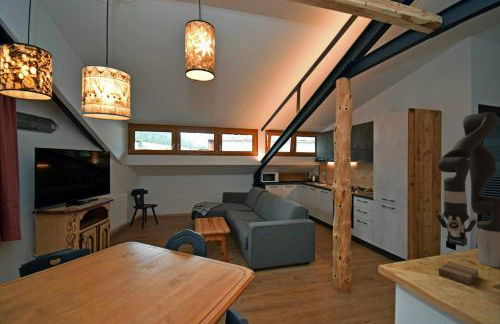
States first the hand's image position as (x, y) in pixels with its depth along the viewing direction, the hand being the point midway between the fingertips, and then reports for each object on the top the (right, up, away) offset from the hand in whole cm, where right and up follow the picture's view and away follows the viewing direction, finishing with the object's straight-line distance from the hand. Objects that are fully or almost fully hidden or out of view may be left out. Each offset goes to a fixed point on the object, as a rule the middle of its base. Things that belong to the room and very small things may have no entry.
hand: (456, 238), depth 97 cm
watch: (0, -2, 0) cm, 2 cm away
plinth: (0, -17, 0) cm, 17 cm away
